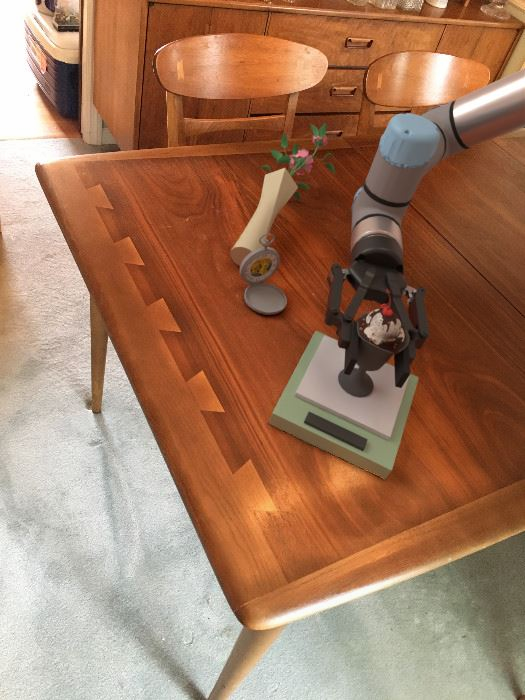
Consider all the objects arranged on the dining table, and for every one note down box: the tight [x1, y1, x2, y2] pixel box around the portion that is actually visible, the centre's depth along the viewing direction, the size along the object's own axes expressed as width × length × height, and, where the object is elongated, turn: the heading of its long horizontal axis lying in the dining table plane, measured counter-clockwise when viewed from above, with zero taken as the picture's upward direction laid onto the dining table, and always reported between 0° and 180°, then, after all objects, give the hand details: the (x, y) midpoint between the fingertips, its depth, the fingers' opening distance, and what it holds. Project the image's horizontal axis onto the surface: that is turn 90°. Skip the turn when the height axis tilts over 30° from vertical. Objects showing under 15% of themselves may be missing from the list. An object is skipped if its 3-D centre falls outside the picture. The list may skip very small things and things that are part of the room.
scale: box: [267, 330, 420, 480], centre depth 74 cm, size 16×17×3 cm
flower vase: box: [229, 122, 337, 267], centre depth 99 cm, size 12×12×35 cm
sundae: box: [338, 289, 410, 397], centre depth 69 cm, size 7×7×15 cm
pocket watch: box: [239, 233, 288, 316], centre depth 83 cm, size 8×8×10 cm
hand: (376, 373), depth 65 cm, fingers closed on sundae, 6 cm apart
